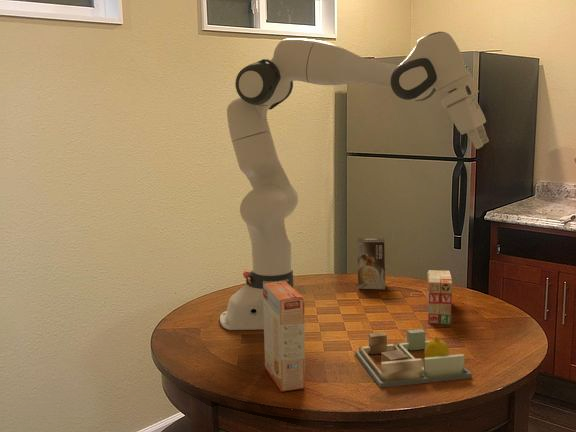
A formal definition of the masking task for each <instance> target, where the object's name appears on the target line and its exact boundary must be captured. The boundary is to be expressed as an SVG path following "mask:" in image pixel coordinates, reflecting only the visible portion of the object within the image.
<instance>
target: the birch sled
mask: <svg viewBox="0 0 576 432" xmlns="http://www.w3.org/2000/svg"><path fill="white" fill-rule="evenodd" d="M358 347H359V348H358V352H359V353H360V354H361V356H362V357H363V358H364V359H365V361H366V362H367V363H368V365H369V366H370V367H371V369H372V370H373V371H374V372H375V374H376V375H377V376H378V378H379V379H380V380H381V382H386V381H396V380H405V379H415V378H423V376H422V366H423V359H422V358H420V357H419V358H415V359H409V358H408V360H398V361H388V362H381V361H380V368H379V367H378V366H377V364H376V363H375V362H374V361H373V359H372V358H371V356H370V355H375V354H381V353H382V352H388V351H393V350H400V349H399V348H398V345H396V343H388V335H387V334H386V333H385V332H374V333H368V345H366V346H358ZM400 351H401V350H400ZM401 352H402V351H401ZM402 353H403V352H402ZM369 354H370V355H369Z"/></svg>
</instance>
